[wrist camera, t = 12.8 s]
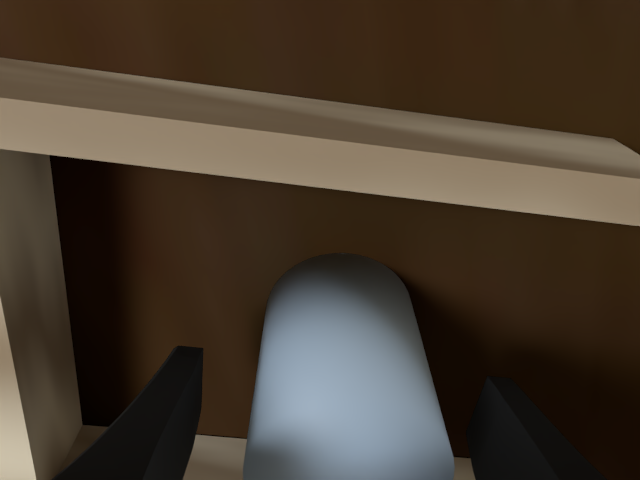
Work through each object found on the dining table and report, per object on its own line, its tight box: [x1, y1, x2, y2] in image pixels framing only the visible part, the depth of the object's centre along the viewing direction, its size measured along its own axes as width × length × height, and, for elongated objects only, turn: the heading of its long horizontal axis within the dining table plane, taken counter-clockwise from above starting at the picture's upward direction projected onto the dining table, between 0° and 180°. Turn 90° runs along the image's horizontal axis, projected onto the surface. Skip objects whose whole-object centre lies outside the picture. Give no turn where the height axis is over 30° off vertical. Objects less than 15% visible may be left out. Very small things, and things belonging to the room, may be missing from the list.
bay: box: [0, 58, 640, 480], centre depth 16 cm, size 20×15×3 cm
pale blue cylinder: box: [243, 253, 455, 480], centre depth 13 cm, size 4×4×6 cm
